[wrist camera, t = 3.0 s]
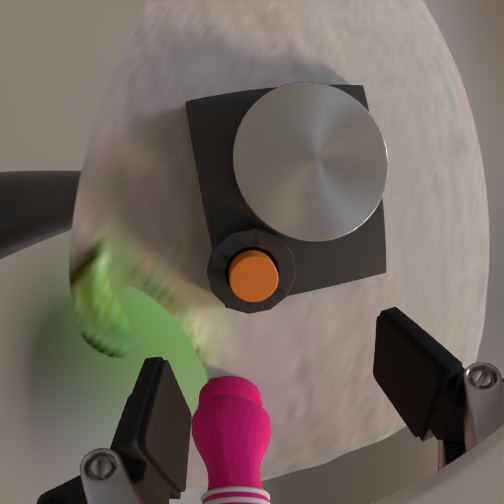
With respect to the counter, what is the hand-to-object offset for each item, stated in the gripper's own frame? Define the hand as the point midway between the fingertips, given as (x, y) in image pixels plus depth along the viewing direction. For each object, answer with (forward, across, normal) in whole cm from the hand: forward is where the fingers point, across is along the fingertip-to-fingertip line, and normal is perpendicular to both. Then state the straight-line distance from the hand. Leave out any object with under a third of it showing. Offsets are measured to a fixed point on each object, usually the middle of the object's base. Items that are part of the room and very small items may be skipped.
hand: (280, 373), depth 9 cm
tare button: (+11, 0, 0) cm, 11 cm away
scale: (+14, -4, -5) cm, 15 cm away
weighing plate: (+11, -5, -7) cm, 14 cm away
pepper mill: (+14, +4, +14) cm, 20 cm away
